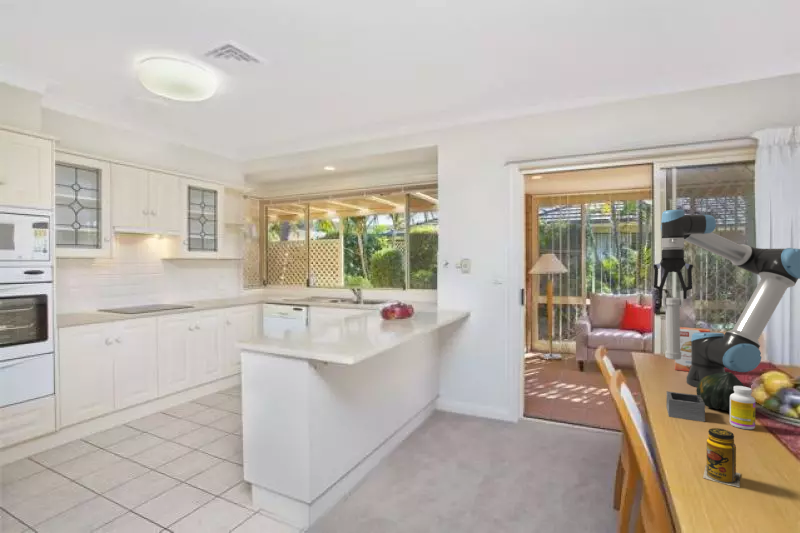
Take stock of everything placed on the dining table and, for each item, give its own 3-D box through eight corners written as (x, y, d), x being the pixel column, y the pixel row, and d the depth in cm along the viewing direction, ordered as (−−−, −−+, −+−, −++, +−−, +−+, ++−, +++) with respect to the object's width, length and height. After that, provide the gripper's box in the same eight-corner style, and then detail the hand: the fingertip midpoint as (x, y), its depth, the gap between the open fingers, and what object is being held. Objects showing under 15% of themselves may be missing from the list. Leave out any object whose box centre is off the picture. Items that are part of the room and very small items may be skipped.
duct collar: (700, 411, 153) (700, 395, 153) (704, 421, 144) (704, 404, 144) (666, 407, 158) (666, 391, 158) (668, 416, 149) (668, 399, 149)
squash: (690, 384, 168) (700, 362, 158) (735, 389, 163) (748, 367, 153) (697, 417, 158) (708, 396, 148) (746, 423, 153) (761, 402, 143)
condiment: (702, 478, 108) (703, 432, 108) (705, 465, 115) (706, 422, 114) (739, 488, 103) (740, 440, 103) (740, 474, 110) (740, 428, 110)
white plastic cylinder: (684, 360, 166) (683, 284, 166) (666, 359, 167) (665, 284, 167) (677, 356, 172) (676, 283, 171) (660, 356, 173) (659, 283, 172)
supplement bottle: (757, 431, 136) (757, 392, 135) (731, 427, 139) (731, 389, 139) (753, 424, 141) (753, 386, 141) (728, 420, 145) (728, 383, 144)
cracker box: (674, 370, 207) (675, 328, 207) (674, 367, 212) (674, 326, 212) (710, 374, 200) (710, 330, 199) (708, 371, 205) (709, 328, 205)
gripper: (646, 249, 169) (646, 306, 170) (702, 248, 161) (702, 309, 161) (645, 249, 176) (645, 304, 177) (699, 248, 167) (699, 306, 168)
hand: (672, 306), depth 169 cm, fingers closed on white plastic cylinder, 5 cm apart
